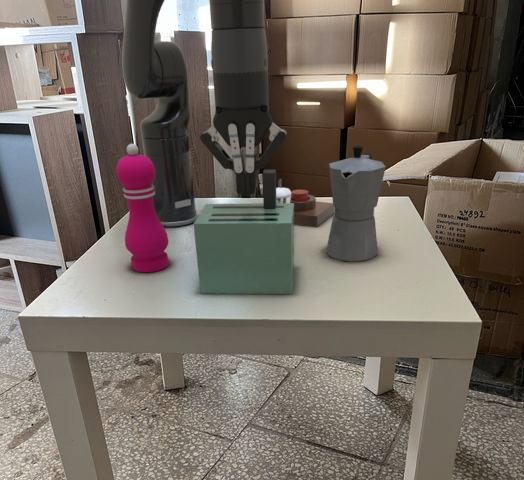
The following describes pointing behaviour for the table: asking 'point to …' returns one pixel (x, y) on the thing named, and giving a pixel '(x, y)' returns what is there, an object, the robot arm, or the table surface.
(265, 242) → the toaster
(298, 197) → the button
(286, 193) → the milkshake
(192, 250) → the table surface
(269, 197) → the dark grey upright bar
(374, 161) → the coffeepot
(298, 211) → the block
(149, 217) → the pepper mill
